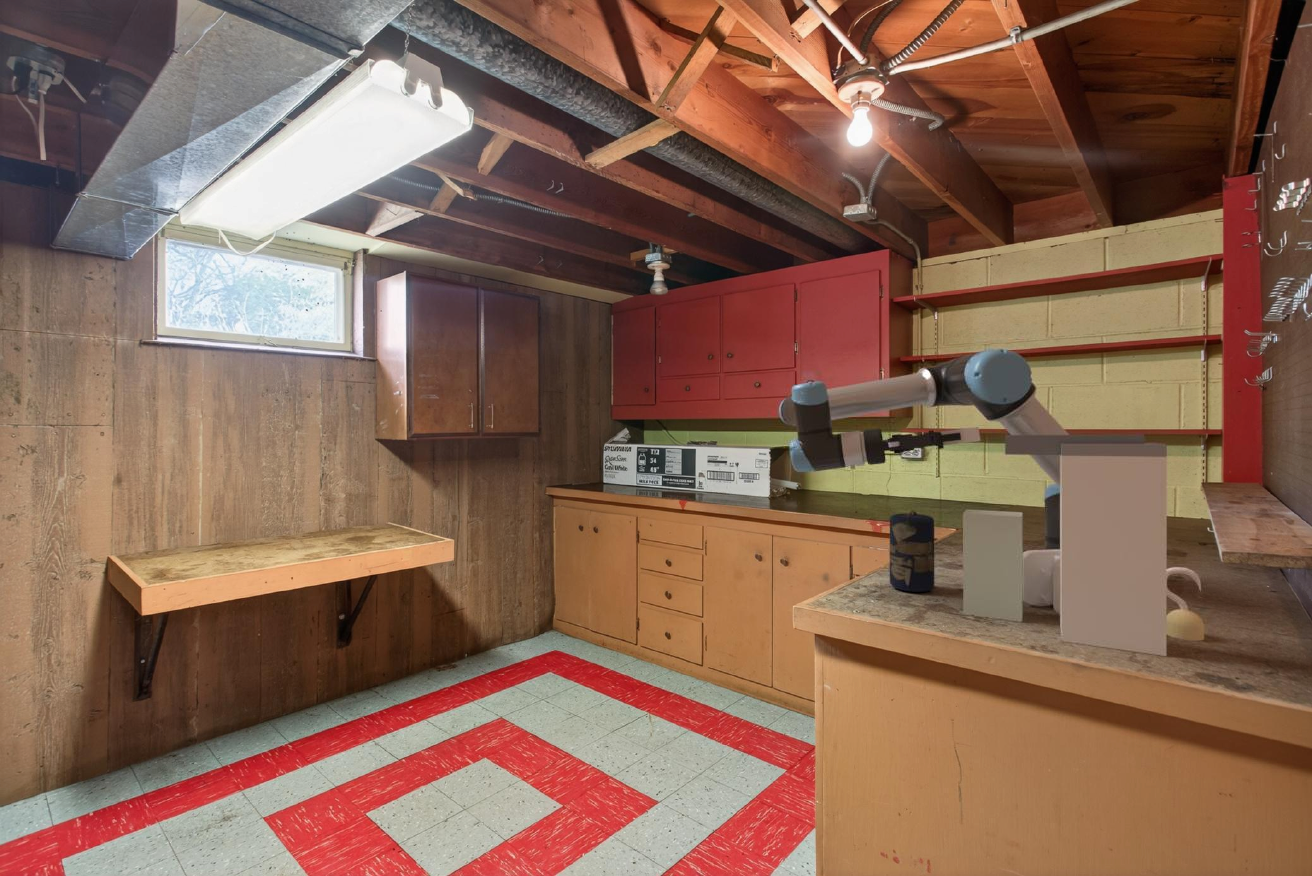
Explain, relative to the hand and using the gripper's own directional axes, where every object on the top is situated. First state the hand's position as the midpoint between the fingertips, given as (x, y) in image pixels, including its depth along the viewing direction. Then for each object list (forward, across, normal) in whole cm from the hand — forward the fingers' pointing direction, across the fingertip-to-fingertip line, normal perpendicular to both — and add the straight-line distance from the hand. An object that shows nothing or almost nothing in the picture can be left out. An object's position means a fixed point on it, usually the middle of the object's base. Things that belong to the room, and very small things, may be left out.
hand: (973, 434), depth 125 cm
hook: (+27, +6, -40) cm, 48 cm away
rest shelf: (-2, +2, -36) cm, 36 cm away
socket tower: (+14, +13, -38) cm, 43 cm away
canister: (-16, -14, -34) cm, 40 cm away
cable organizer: (+13, -5, -38) cm, 40 cm away
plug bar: (+13, +13, -6) cm, 19 cm away
